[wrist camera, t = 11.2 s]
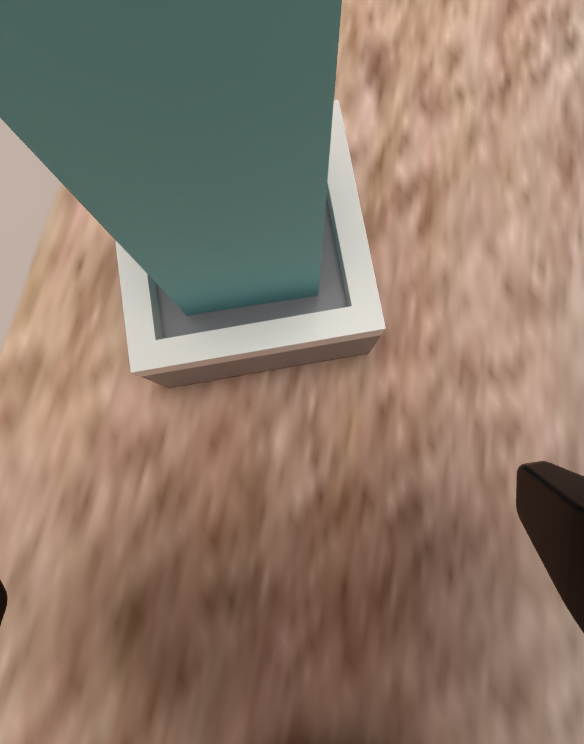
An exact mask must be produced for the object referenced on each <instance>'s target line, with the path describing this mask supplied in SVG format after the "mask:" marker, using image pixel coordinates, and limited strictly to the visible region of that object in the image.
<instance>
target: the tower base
mask: <svg viewBox="0 0 584 744" xmlns="http://www.w3.org/2000/svg"><path fill="white" fill-rule="evenodd" d="M115 242H116V251H117V259H118V268H119V276H120V285H121V293H122V302H123V310H124V319H125V327H126V336H127V344H128V353H129V361H130V370H131V373H133V374H135V375H138V376H140V377H143V378H145V379H148V380H150V381H153V382H155V383H158V384H160V385H163V386H165V387H168V388H170V387H176V386H182V385H187V384H193V383H199V382H205V381H211V380H216V379H222V378H228V377H234V376H239V375H245V374H251V373H257V372H263V371H268V370H274V369H280V368H286V367H292V366H297V365H303V364H309V363H315V362H321V361H326V360H332V359H338V358H344V357H350V356H355V355H361V354H367V353H369V352H370V351H371V349H372V348H373V346H374V345H375V343H376V342H377V340H378V339H379V338H380V336H381V335H382V333H383V332H384V330H385V329H386V328H385V323H384V318H383V313H382V308H381V303H380V299H379V294H378V289H377V284H376V279H375V274H374V270H373V265H372V260H371V255H370V250H369V245H368V240H367V236H366V231H365V226H364V221H363V216H362V211H361V207H360V202H359V197H358V192H357V187H356V182H355V177H354V173H353V168H352V163H351V158H350V153H349V148H348V144H347V139H346V134H345V129H344V124H343V119H342V114H341V110H340V105H339V100H334V104H333V117H332V129H331V142H330V155H329V167H328V180H327V192H326V205H325V218H324V230H323V243H322V256H321V268H320V281H319V293H318V296H312V297H305V298H299V299H292V300H286V301H279V302H273V303H266V304H260V305H253V306H246V307H240V308H233V309H227V310H220V311H214V312H207V313H201V314H194V315H188V316H187V315H186V314H185V313H184V312H183V311H182V310H181V309H180V308H179V307H178V306H177V305H176V304H175V303H174V302H173V300H172V299H171V298H170V297H169V296H168V295H167V294H166V293H165V292H164V291H163V290H162V289H161V288H160V287H159V286H158V285H157V284H156V282H155V281H154V280H153V279H152V278H151V277H150V276H149V275H148V274H147V273H146V272H145V271H144V270H143V269H142V268H141V267H140V265H139V264H138V263H137V262H136V261H135V260H134V259H133V258H132V257H131V256H130V255H129V254H128V253H127V252H126V251H125V250H124V248H123V247H122V246H121V245H120V244H119V243H118V242H117V241H116V240H115Z"/></svg>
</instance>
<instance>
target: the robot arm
mask: <svg viewBox="0 0 584 744" xmlns="http://www.w3.org/2000/svg"><path fill="white" fill-rule="evenodd" d="M516 508H517V512H518V516H519V518H520V520H521V522H522V524H523V526H524V528H525V530H526V532H527V534H528V536H529V538H530V539H531V541H532V543H533V545H534V547H535V549H536V551H537V553H538V555H539V557H540V558H541V560H542V562H543V564H544V566H545V568H546V570H547V572H548V574H549V576H550V578H551V579H552V581H553V583H554V585H555V587H556V589H557V591H558V593H559V594H560V596H561V598H562V600H563V602H564V603H565V605H566V607H567V608H568V610H569V611H570V613H571V615H572V616H573V618H574V619H575V621H576V622H577V624H578V625H579V627H580V628H581V630H582V631H583V633H584V476H582V475H579V474H577V473H574V472H572V471H569V470H567V469H564V468H562V467H559V466H557V465H554V464H552V463H549V462H546V461H538V462H532V463H526V464H522V465H521V466H519V467H518V470H517V487H516ZM6 606H7V592H6V589H5V588H4V586H3V584H2V582H1V580H0V625H1V622H2V619H3V616H4V613H5V610H6Z"/></svg>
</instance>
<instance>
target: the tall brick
mask: <svg viewBox="0 0 584 744" xmlns="http://www.w3.org/2000/svg"><path fill="white" fill-rule="evenodd" d="M341 3H342V0H0V118H1V119H2V120H3V121H4V122H5V123H6V124H7V125H8V126H9V127H10V128H11V129H12V131H13V132H14V133H15V134H16V135H17V136H18V137H19V138H20V139H21V140H22V141H23V142H24V143H25V144H26V145H27V146H28V148H29V149H30V150H31V151H32V152H33V153H34V154H35V155H36V156H37V157H38V158H39V159H40V160H41V161H42V162H43V164H45V166H46V167H47V168H48V169H49V170H50V171H51V172H52V173H53V174H54V175H55V176H56V177H57V178H58V179H59V181H60V182H61V183H62V184H63V185H64V186H65V187H66V188H67V189H68V190H69V191H70V192H71V193H72V194H73V195H74V196H75V198H76V199H77V200H78V201H79V202H80V203H81V204H82V205H83V206H84V207H85V208H86V209H87V210H88V211H89V212H90V213H91V214H92V216H93V217H94V218H95V219H96V220H97V221H98V222H99V223H100V224H101V225H102V226H103V227H104V228H105V229H106V230H107V231H108V233H109V234H110V235H111V236H112V237H113V238H114V239H115V240H116V241H117V242H118V243H119V244H120V245H121V246H122V247H123V248H124V250H125V251H126V252H127V253H128V254H129V255H130V256H131V257H132V258H133V259H134V260H135V261H136V262H137V263H138V264H139V265H140V267H141V268H142V269H143V270H144V271H145V272H146V273H147V274H148V275H149V276H150V277H151V278H152V279H153V280H154V281H155V282H156V284H157V285H158V286H159V287H160V288H161V289H162V290H163V291H164V292H165V293H166V294H167V295H168V296H169V297H170V298H171V299H172V300H173V302H174V303H175V304H176V305H177V306H178V307H179V308H180V309H181V310H182V311H183V312H184V313H185V314H186V315H187V316H188V315H194V314H201V313H207V312H214V311H220V310H227V309H233V308H240V307H246V306H253V305H260V304H266V303H273V302H279V301H286V300H292V299H299V298H305V297H312V296H318V293H319V281H320V268H321V256H322V243H323V230H324V218H325V205H326V192H327V180H328V167H329V155H330V142H331V129H332V117H333V104H334V91H335V79H336V66H337V54H338V41H339V28H340V16H341Z"/></svg>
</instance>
